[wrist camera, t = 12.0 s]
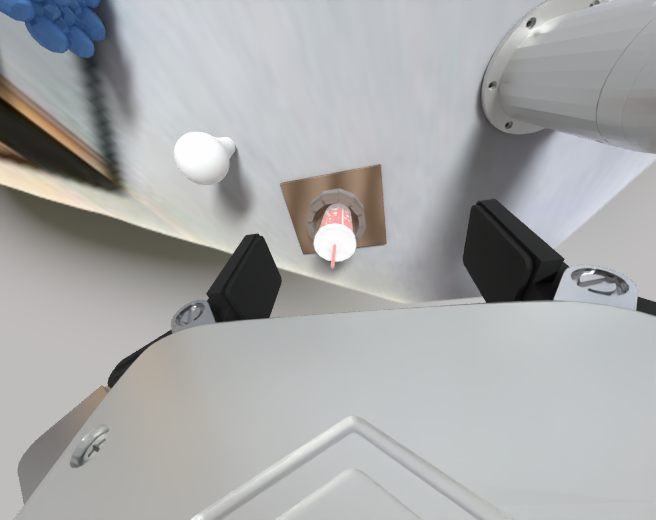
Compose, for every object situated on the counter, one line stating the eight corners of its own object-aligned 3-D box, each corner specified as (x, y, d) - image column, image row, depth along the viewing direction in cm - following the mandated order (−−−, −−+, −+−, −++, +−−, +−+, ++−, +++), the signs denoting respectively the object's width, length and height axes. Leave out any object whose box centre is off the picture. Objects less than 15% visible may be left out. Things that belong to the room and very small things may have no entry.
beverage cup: (314, 223, 42) (301, 275, 31) (328, 192, 38) (318, 239, 27) (346, 235, 43) (344, 290, 32) (362, 207, 39) (365, 258, 28)
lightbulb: (253, 166, 37) (222, 192, 29) (216, 165, 38) (175, 192, 29) (244, 121, 34) (206, 137, 25) (203, 121, 34) (152, 137, 25)
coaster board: (380, 164, 36) (382, 173, 32) (386, 241, 44) (388, 253, 41) (281, 182, 39) (274, 192, 35) (303, 251, 47) (300, 263, 44)
